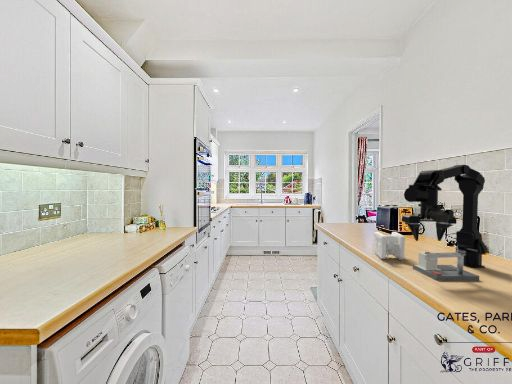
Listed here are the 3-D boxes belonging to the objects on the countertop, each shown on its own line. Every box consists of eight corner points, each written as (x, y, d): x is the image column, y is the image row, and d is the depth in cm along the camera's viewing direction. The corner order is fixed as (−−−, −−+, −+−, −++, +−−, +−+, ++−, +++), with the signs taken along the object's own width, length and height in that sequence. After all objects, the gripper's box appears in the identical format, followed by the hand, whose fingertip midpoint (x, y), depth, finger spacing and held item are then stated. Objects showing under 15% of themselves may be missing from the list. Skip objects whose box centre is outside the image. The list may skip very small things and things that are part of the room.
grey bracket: (422, 273, 94) (423, 250, 94) (459, 272, 97) (460, 249, 97) (429, 276, 92) (429, 252, 91) (466, 274, 94) (467, 251, 94)
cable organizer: (405, 262, 116) (406, 236, 116) (380, 260, 118) (381, 235, 118) (394, 254, 131) (394, 231, 130) (372, 252, 133) (372, 230, 132)
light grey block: (429, 265, 105) (429, 251, 105) (437, 269, 101) (437, 253, 101) (418, 265, 105) (418, 251, 105) (425, 269, 101) (426, 253, 100)
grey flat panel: (450, 268, 107) (450, 263, 107) (479, 280, 94) (479, 274, 94) (412, 268, 107) (412, 263, 107) (436, 280, 93) (436, 274, 93)
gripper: (419, 202, 94) (418, 245, 94) (469, 203, 95) (467, 245, 95) (401, 201, 105) (400, 239, 106) (446, 201, 106) (444, 239, 106)
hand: (427, 240), depth 103 cm, fingers open, 9 cm apart
